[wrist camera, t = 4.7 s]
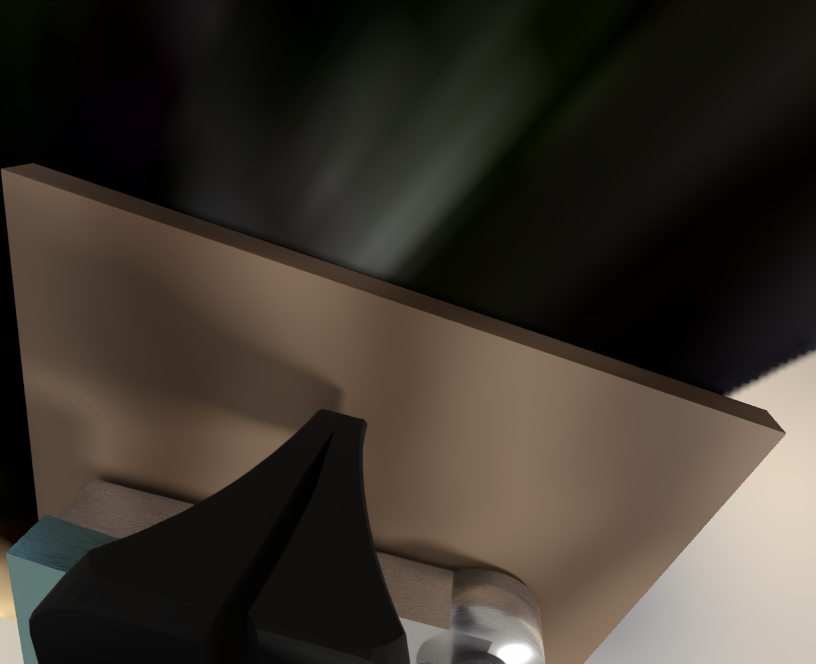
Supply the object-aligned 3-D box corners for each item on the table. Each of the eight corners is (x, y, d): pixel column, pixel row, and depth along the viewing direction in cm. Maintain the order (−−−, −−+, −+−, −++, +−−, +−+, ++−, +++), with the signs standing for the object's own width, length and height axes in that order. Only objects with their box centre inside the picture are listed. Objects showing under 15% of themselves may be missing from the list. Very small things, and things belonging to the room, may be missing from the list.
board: (62, 554, 21) (44, 574, 20) (33, 163, 13) (0, 169, 12) (521, 705, 21) (522, 732, 21) (766, 410, 13) (786, 433, 13)
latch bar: (556, 587, 16) (569, 687, 13) (520, 654, 18) (525, 753, 15) (91, 468, 17) (17, 541, 14) (104, 545, 19) (40, 622, 16)
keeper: (125, 591, 20) (33, 720, 16) (128, 432, 16) (5, 552, 12) (181, 609, 20) (103, 743, 16) (199, 456, 16) (100, 584, 12)
